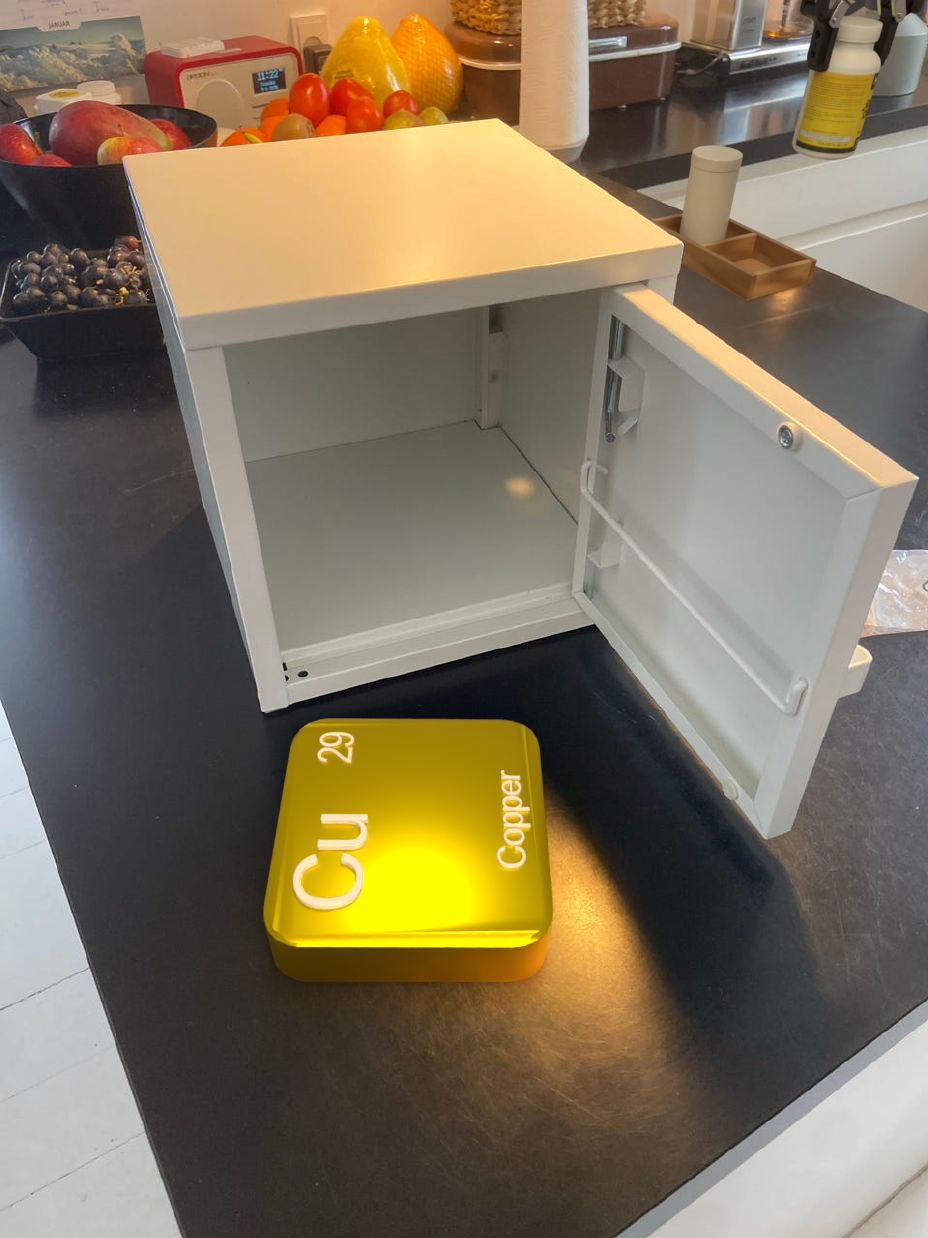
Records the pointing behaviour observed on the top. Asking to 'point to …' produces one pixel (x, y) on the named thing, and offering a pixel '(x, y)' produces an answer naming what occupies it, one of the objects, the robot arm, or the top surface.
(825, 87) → the pill bottle
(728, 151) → the beige lidded canister
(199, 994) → the top surface
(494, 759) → the element tile
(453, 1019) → the top surface
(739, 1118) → the top surface
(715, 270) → the tray
